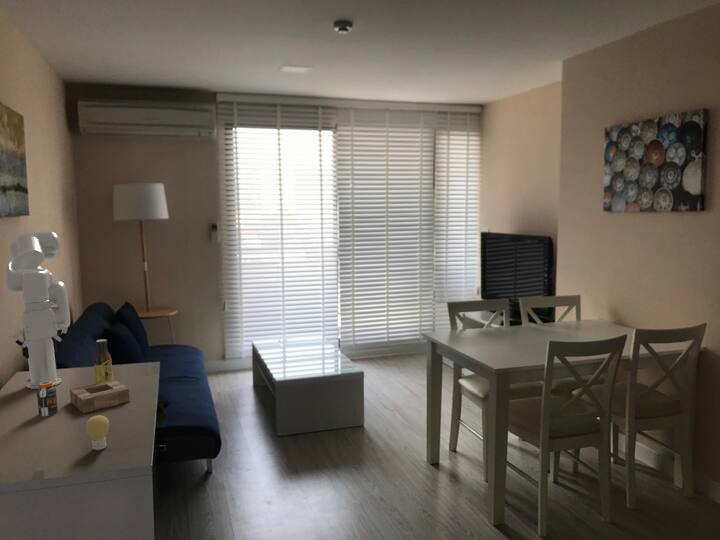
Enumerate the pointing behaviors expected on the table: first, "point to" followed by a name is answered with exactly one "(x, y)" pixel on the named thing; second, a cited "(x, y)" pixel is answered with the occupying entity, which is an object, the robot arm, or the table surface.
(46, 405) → the pill bottle
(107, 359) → the sauce bottle
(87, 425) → the light bulb
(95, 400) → the socket block
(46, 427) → the table surface
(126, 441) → the table surface
